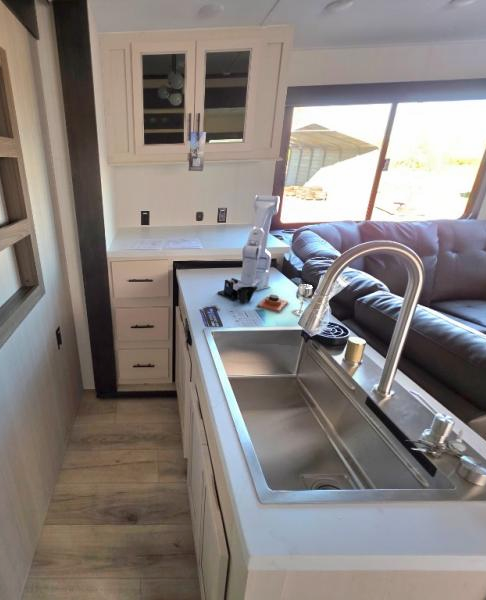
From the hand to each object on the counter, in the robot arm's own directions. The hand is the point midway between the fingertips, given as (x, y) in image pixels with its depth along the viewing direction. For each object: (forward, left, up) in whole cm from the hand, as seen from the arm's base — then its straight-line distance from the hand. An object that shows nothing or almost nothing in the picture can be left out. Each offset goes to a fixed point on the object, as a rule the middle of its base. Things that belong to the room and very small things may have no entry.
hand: (244, 301), depth 139 cm
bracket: (0, -9, 0) cm, 9 cm away
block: (-8, +8, 0) cm, 12 cm away
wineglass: (-11, +19, 0) cm, 22 cm away
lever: (0, -5, +2) cm, 5 cm away
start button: (-8, +9, +2) cm, 12 cm away
